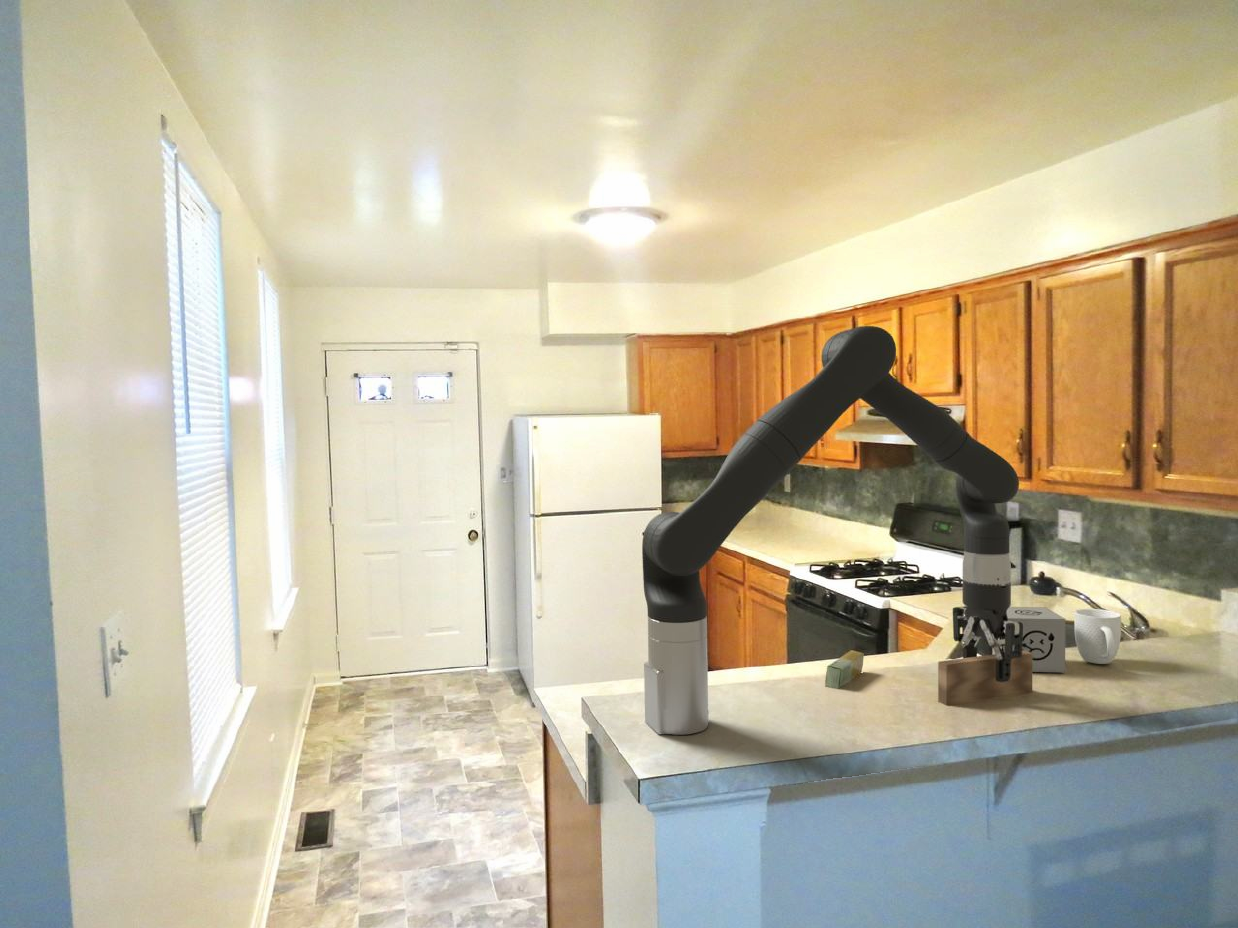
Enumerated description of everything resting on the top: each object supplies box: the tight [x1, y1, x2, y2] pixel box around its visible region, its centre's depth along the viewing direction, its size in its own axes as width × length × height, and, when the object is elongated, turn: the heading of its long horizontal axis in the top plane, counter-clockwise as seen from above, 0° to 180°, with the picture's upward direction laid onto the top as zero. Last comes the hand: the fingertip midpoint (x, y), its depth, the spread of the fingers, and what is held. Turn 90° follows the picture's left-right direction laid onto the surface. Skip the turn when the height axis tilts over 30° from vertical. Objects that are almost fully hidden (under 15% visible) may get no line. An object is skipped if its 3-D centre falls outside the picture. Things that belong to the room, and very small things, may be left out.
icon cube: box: [992, 606, 1067, 673], centre depth 162 cm, size 10×10×10 cm
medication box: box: [824, 649, 865, 690], centre depth 154 cm, size 12×3×4 cm, turn 144°
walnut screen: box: [937, 650, 1033, 706], centre depth 144 cm, size 18×2×7 cm, turn 109°
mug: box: [1073, 608, 1122, 665], centre depth 162 cm, size 11×8×9 cm
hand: (986, 674), depth 144 cm, fingers open, 7 cm apart
